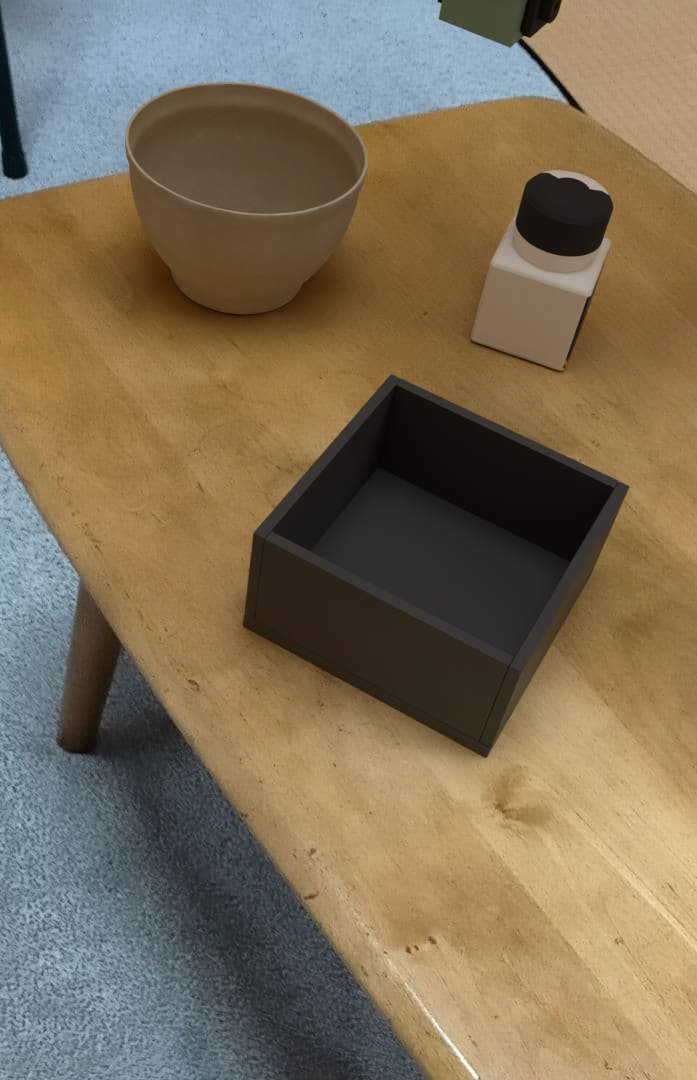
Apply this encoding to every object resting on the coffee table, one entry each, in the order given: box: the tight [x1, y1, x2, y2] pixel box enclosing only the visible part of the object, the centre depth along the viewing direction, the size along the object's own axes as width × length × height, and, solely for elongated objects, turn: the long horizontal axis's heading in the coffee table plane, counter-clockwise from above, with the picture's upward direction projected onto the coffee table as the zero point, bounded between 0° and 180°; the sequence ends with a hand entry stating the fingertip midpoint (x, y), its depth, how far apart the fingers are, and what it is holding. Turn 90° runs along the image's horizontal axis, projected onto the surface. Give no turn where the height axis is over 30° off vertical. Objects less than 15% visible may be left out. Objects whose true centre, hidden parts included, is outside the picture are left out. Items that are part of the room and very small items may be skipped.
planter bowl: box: [124, 81, 369, 315], centre depth 86 cm, size 16×16×11 cm
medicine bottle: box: [470, 169, 614, 372], centre depth 86 cm, size 7×7×12 cm
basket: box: [242, 373, 630, 758], centre depth 70 cm, size 15×15×8 cm
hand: (493, 9), depth 77 cm, fingers closed on box, 5 cm apart
